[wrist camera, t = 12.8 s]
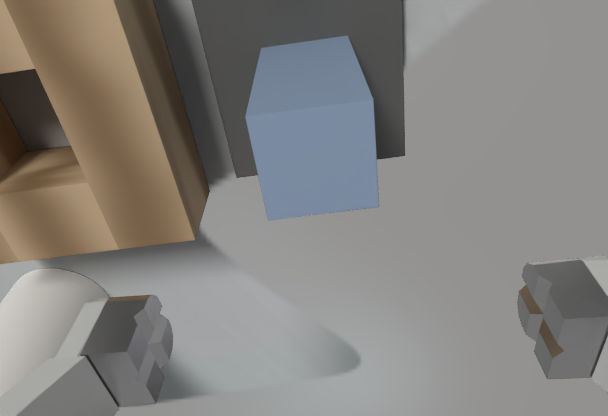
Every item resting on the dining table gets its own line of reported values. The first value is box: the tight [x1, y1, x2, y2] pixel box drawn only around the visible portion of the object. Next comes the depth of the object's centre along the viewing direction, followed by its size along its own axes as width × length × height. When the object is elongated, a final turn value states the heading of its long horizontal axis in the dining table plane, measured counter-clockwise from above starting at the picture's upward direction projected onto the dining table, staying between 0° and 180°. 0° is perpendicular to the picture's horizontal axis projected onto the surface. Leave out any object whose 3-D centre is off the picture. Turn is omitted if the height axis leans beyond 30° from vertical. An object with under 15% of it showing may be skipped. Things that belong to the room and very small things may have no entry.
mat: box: [192, 0, 405, 178], centre depth 25 cm, size 10×10×1 cm
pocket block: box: [0, 0, 210, 264], centre depth 23 cm, size 14×14×5 cm
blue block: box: [245, 36, 379, 220], centre depth 21 cm, size 4×4×9 cm
